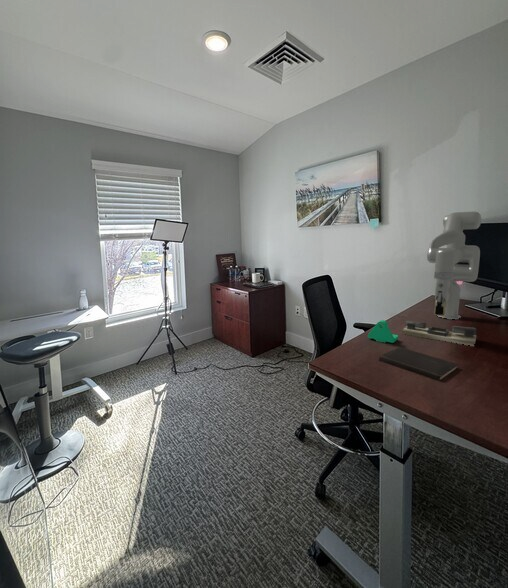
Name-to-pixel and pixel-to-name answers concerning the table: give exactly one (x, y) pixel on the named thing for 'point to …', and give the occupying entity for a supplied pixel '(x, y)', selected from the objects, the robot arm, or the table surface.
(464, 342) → the stand
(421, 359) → the hardcover book
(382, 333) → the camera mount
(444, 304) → the yellow round-topped cylinder
